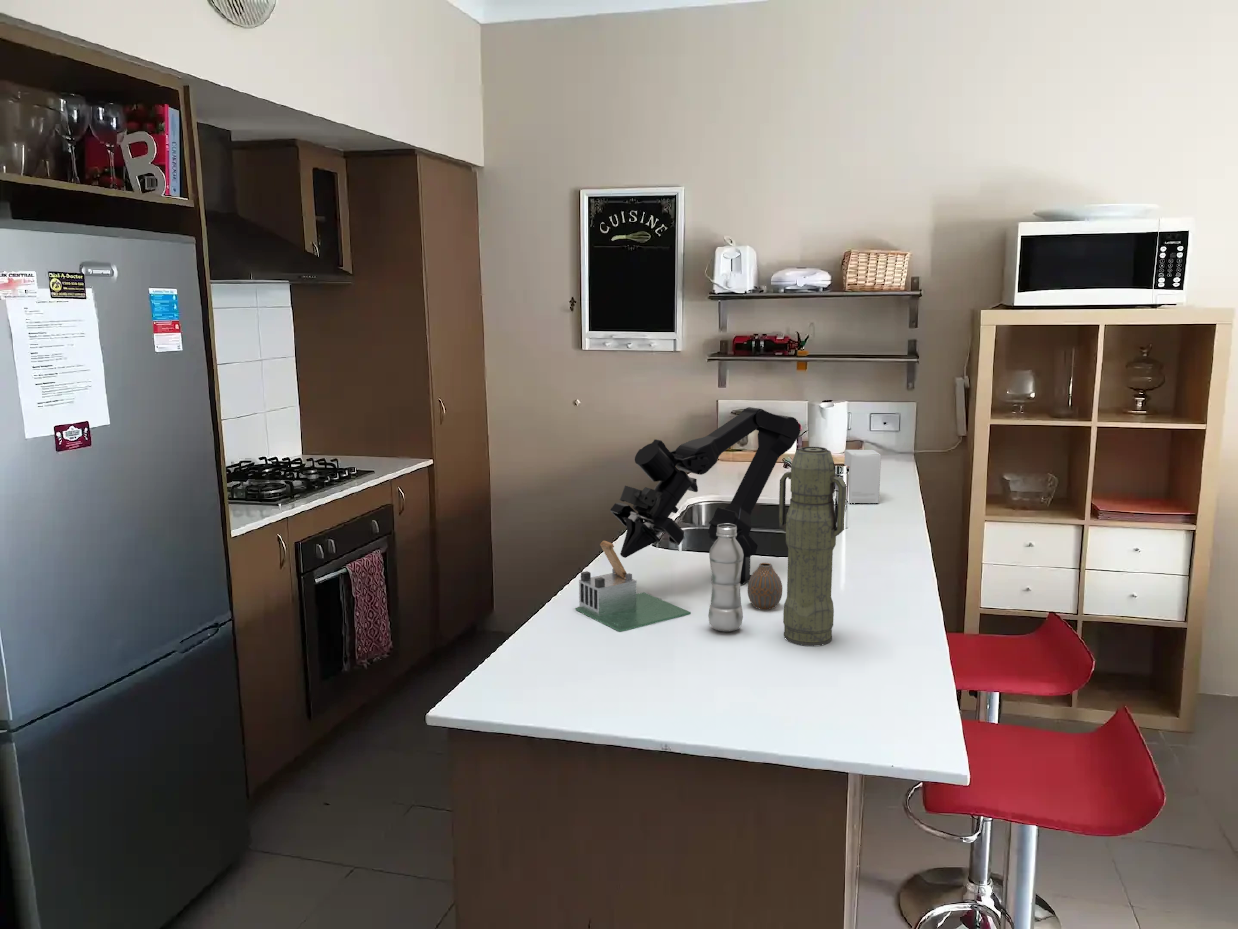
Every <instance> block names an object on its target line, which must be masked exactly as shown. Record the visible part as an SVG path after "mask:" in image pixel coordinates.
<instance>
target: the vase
mask: <svg viewBox="0 0 1238 929" xmlns="http://www.w3.org/2000/svg"><path fill="white" fill-rule="evenodd" d="M751 575H752V576H751V577H750V579H749V580H748V581H747V582H748V583H747V596H748V599H749V602H751V604H752V605H753V607H754V608H756V607H757V608H756V609H759V608H760V610H772V608H773V609H774V608H776V607H777V606H778V604H780V602H781V599H782V596H783V584H782V583H783V582H782V580H781V577H780V576H779V575H778V573H777V572H776V571H775V569H774V567H773V565H772V564H771V563H769V562H761V563H759V565H758V567H757V568H756V569H755V570H754V572H753V573H752V574H751Z"/></svg>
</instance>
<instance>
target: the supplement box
mask: <svg viewBox="0 0 1238 929" xmlns="http://www.w3.org/2000/svg"><path fill="white" fill-rule="evenodd" d="M843 463H844V465H847V466H850V468H849V503H848V504H849V505H856V504H855V503H879V504H880V486H881V468H882V467H881V465H882V454H880V453H879V452H878V451H877V450H875V449H845V450H844V462H843ZM850 503H851V504H850ZM852 503H854V504H852Z"/></svg>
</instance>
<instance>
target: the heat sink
mask: <svg viewBox="0 0 1238 929" xmlns="http://www.w3.org/2000/svg"><path fill="white" fill-rule="evenodd" d="M578 590H579V592H578V595H579V596H578V599H579V602H578V603H579V606H578V607H575V611H577V612H579V613H581V614H583V615H584V616H587V617H589V618H591V619H593V620H595V619H596V620H595V621H597V620H598V621H597V622H599V623H601V624H603V625H605V626H606V627H609V626H610V627H609V628H611V629H612V630H615V631H616V632H619V633H622V632H625V631H629V630H634V629H637V628H640V627H641V628H642V627H645V626H649V625H652V624H656V623H661V622H665V621H668V620H672V619H676V618H681V617H684V616H689V615H691V613H692V612H691V611H689V610H686V609H685V608H681V607H679V606H678V605H675V604H673V603H670V602H668V601H665V600H663V599H661V598H659V597H656V596H654V595H651V594H649V593H647V592H644V591H643V592H639V593H637V579H634V578H633V573H630V572H629V573H627V574H626V579H625V578H623V577H620V576H618V575H616V573H615V571H614V569H613V568H612V572H611V573H605V574H601V575H597V576H592V577H591V572H590V571H587V570H586V571H581V572H580V579H578Z"/></svg>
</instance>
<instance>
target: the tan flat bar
mask: <svg viewBox="0 0 1238 929" xmlns="http://www.w3.org/2000/svg"><path fill="white" fill-rule="evenodd" d="M599 546H600V547H601V549H602V551H603V553H604V555H605V556H606V559H607V560H608V562H609V564H610V566H611V567H612V569H614V571H615V573H616V575H618V576H620V577H623V578H625V579H626V574H628V573H627V571H626V569H625V567H624V566H623V564H622V563H621V560H620V558H619V556H618V555H617V553H616V550H615V549H614V547H615V545H614V544H613V543H612V542H609V541H606V540H602V542H601V543H599Z"/></svg>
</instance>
